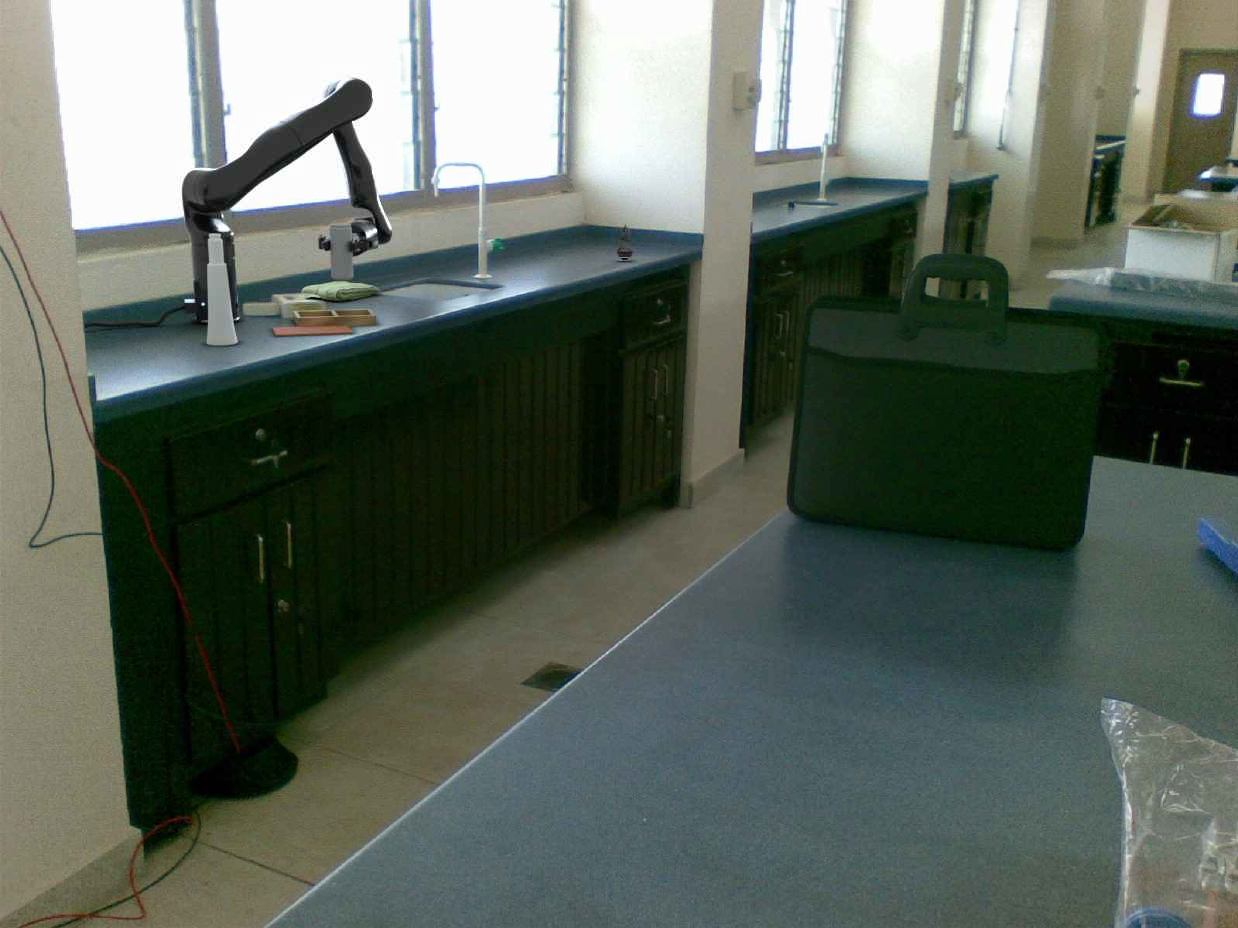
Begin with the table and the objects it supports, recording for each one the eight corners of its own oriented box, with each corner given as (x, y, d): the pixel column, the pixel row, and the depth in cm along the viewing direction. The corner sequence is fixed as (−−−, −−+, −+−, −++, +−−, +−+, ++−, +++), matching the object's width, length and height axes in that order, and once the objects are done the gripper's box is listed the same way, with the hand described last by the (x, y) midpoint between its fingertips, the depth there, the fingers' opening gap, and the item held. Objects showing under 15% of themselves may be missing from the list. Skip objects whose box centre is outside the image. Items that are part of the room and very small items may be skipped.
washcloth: (382, 294, 313) (381, 282, 312) (338, 303, 298) (338, 290, 297) (342, 290, 318) (341, 278, 318) (297, 298, 303) (296, 285, 302)
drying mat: (275, 336, 253) (275, 334, 253) (272, 329, 261) (272, 327, 261) (352, 333, 259) (352, 332, 258) (347, 326, 267) (347, 324, 267)
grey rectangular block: (348, 281, 264) (346, 226, 261) (327, 280, 265) (325, 224, 261) (356, 278, 269) (355, 224, 265) (336, 277, 269) (334, 222, 266)
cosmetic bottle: (243, 343, 245) (236, 234, 239) (216, 347, 241) (208, 236, 234) (227, 339, 249) (220, 231, 243) (200, 342, 245) (192, 233, 238)
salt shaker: (636, 261, 398) (637, 224, 394) (627, 262, 393) (628, 225, 390) (621, 259, 401) (622, 223, 397) (612, 261, 396) (613, 224, 393)
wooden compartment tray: (297, 327, 264) (297, 317, 263) (294, 320, 272) (293, 310, 272) (376, 325, 270) (376, 315, 269) (370, 318, 278) (370, 308, 277)
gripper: (323, 220, 277) (304, 228, 261) (385, 222, 277) (370, 230, 261) (325, 253, 279) (306, 262, 263) (386, 255, 279) (371, 264, 263)
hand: (338, 246), depth 262 cm, fingers closed on grey rectangular block, 5 cm apart
